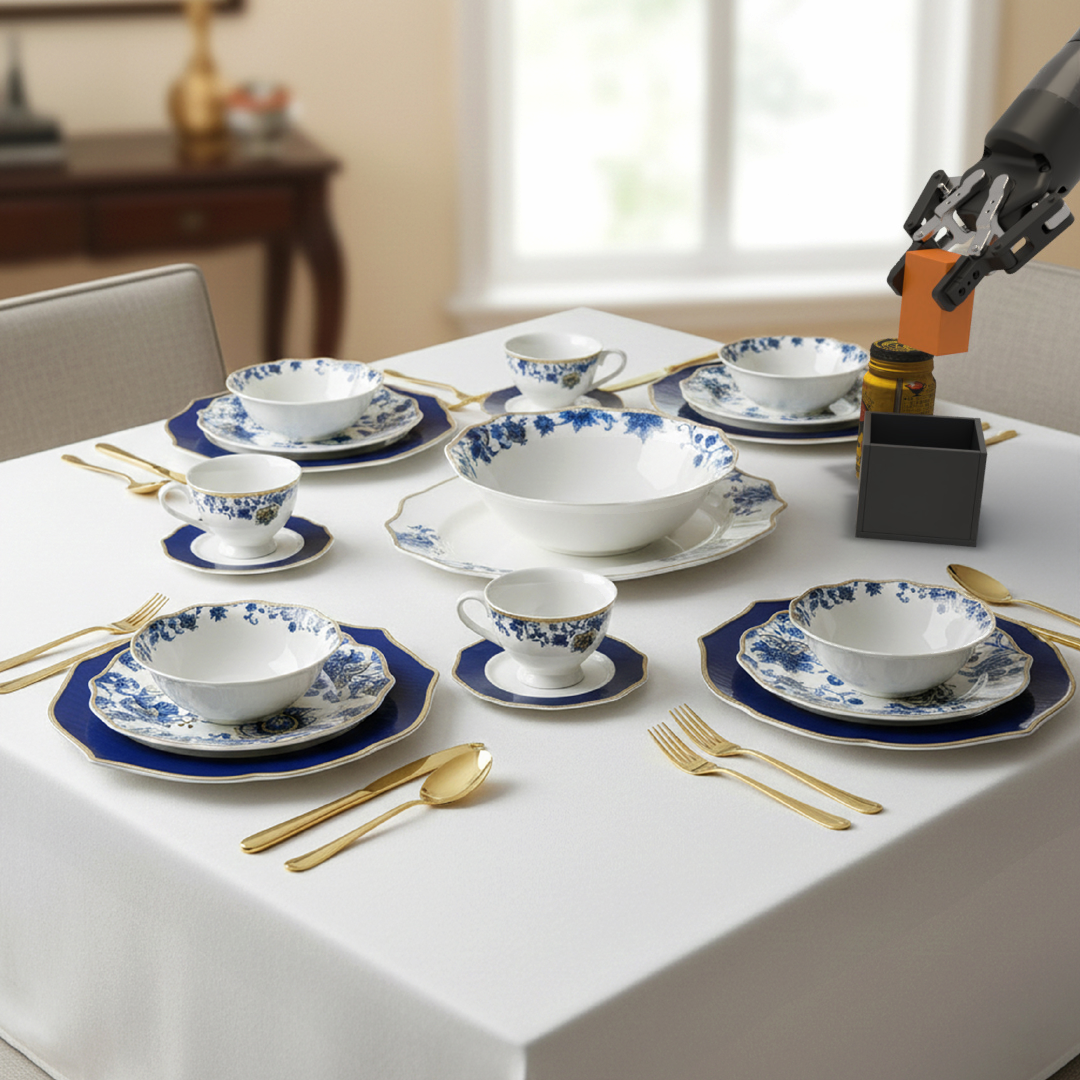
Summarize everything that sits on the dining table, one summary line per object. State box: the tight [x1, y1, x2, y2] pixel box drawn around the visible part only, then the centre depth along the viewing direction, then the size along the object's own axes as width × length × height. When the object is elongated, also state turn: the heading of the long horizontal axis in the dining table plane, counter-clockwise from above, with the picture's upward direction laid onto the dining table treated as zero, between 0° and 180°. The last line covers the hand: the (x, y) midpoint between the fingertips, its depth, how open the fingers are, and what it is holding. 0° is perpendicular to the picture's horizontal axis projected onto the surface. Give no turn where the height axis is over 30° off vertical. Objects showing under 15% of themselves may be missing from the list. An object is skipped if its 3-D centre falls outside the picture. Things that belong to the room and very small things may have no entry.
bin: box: [854, 411, 988, 548], centre depth 115 cm, size 9×9×8 cm
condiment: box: [855, 337, 937, 481], centre depth 124 cm, size 7×8×12 cm
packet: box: [897, 248, 976, 357], centre depth 110 cm, size 3×5×7 cm, turn 26°
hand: (917, 296), depth 109 cm, fingers closed on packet, 4 cm apart
